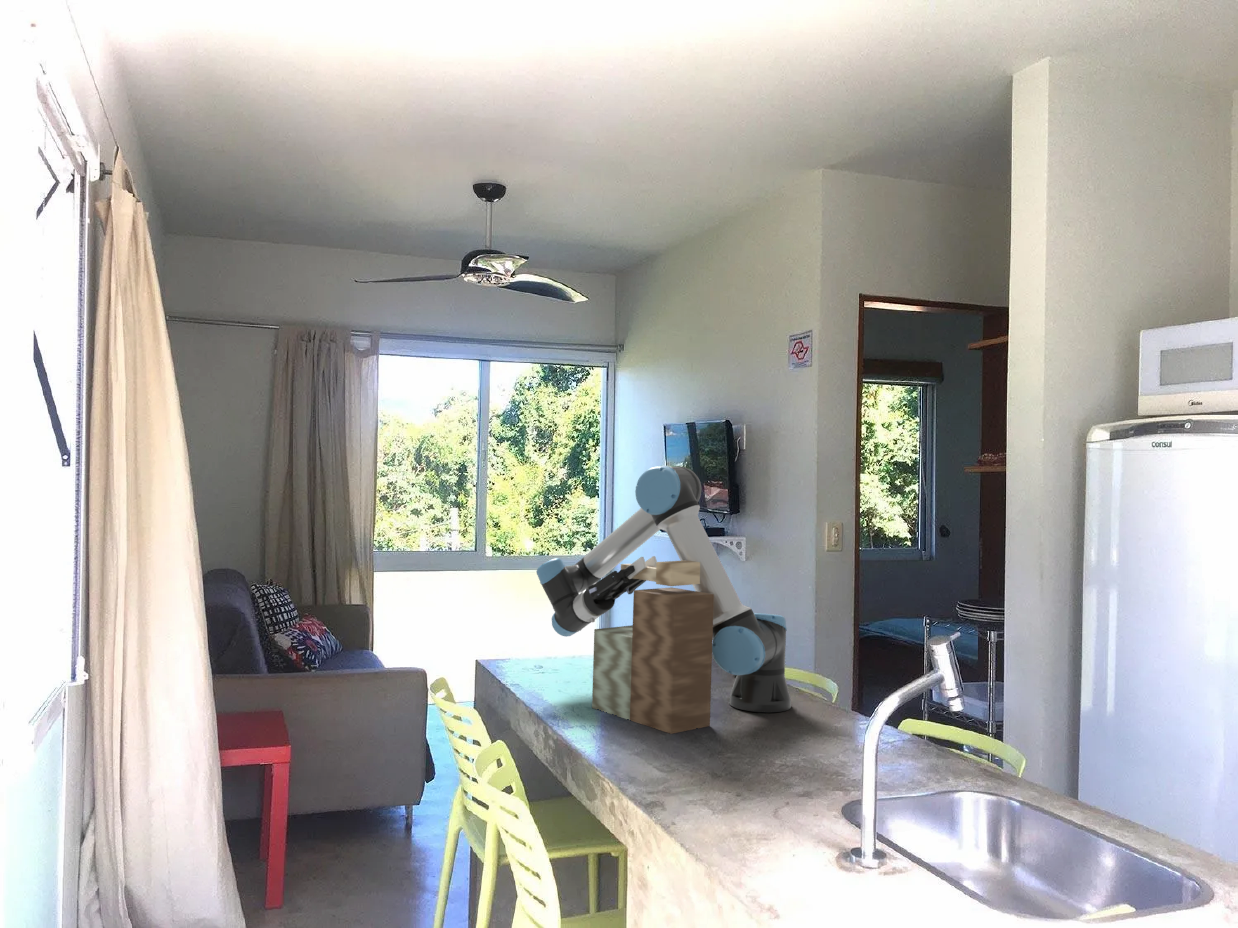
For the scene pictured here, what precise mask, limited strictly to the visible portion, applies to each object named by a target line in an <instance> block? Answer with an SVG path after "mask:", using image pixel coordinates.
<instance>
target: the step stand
mask: <svg viewBox="0 0 1238 928" xmlns="http://www.w3.org/2000/svg"><path fill="white" fill-rule="evenodd" d="M632 605H633V607H632V625H624V626H623V625H622V626H615V627H603V628H595V629H594V632H593V633H594V634H593V659H592V660H593V664H592V666H593V669H592V697H591V699H592V700H591V708H592V709H594V710H597V709H599V710H598V711H600V710H601V711H600V712H603V711H604V713H606V712H607V713H606V714H608V715H612V714H614V715H613V716H615V715H617V716H616V717H619V718H622V719H623V720H627V719H629V720H628V721H630V720H631V721H632V722H634V723H637V724H641V725H643V726H647V727H650V728H652V729H656V730H659V731H662V732H663V733H667V734H670V735H671V734H672V735H673V734H677V733H681V732H686V731H692V730H697V729H696V728H698V729H702V728H706V727H707V728H708V727H711V704H712V703H711V698H712V665H713V654H712V644H713V640H712V638H713V605H714V594H709V593H703V592H697V591H695V590H689V589H684V588H678V587H673V586H670V587H661V588H659V587H657V588H647V589H646V588H645V589H635V590H634V591H633V604H632ZM631 721H630V722H631Z"/></svg>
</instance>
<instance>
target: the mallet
mask: <svg viewBox="0 0 1238 928" xmlns="http://www.w3.org/2000/svg"><path fill="white" fill-rule="evenodd" d="M631 564H632V563H622V564H620V570H622V569H624V570H625V568H627V567H628V566H629V565H631ZM627 578H628V577H627ZM633 579H640V580H647V581H648V582H654V583H655V585H660V586H661V585H662V586H667V587H681V586H690V585H691V586H693V585H694V584H700V562H694V561H686V560H683V561H681V560H667V561H657V562H656V567H652V566H647V568H645V569H644V570H642V571H641V572H640V573H638V574H637V575H635V576H634V577H633ZM647 581H646V582H647Z"/></svg>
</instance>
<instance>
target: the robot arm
mask: <svg viewBox="0 0 1238 928" xmlns="http://www.w3.org/2000/svg"><path fill="white" fill-rule="evenodd" d="M634 492H635V500H636V502H637V505H638V506H639V507H640V508H639V509H638V510H637V511H635V512H634V514H632V515H631V516H630V517H628V519H626V520H625V521H624V522H623V523H622V524H620V525H619V526H618V527H617V528H616V529H615V530H614V531H611V533H610V534H609V535H608V536H606V538H604V539H603V540H602V541H601V542H599V543H597V545H596V546H595V547H594V548H593V549H591V550H590V551H589V552H587V553H586V554H585V555H584V556H583V557H582V558H581V559H580V560H578V561H577V562H576V563H575V564H573V565H567V566H566V564H565V563H564V561H563V560H562V559H561V558H560V557H555V558H552V559H550V560H547V561H545V562H544V563H542V564H541V565H539V566H538V568H536V570H535V571H536V575H537V578H538V579H539V580H538V581H539V583H540V585H541V587H542V588H543V591H544V592H545V595H546V596H547V599H548V600H549V602H550V604H551V606H552V609H553V611H554V613H552V617H551V626H552V628H553V630H554V631H555V632H556V633H557V634H558V635H560V636H561V637H571V636H573V635H575V634H577V633H579V632H581V631H582V630H583V629H584V628H586V627H587V626H588V625H590V624H591V623H595V622H596V620H597V619H598V618H600V617H601V616H602V615H604V614H606V613H607V612H608V611H610V610H611V609H612V608H613V607H614V605H615V601H616V599H618V598H620V597H621V596H622V595H623V594H625V593H627V594H628V595H632V594H634V590H637V589H638V588H639V587H641V586H642V585H643V584H644V583H646V582H647V580H640V579H633V577H634V576H635V575H637V574H638V573H640V572H641V571H642V570H644V569H645V568H647V566H652V567H656V562H658V561H657V558H656V556H655V555H653V556H651V557H650V558H648V559H647V560H645V558H644V556H640V557H638V558H637V559H636V560H635V561H633V562H632V563H630V564H631V565H629V566H628V567H627V568H625V570H624V569H622V570H621V569H620V570H619V571H617V570H614V571H612V570H613V569H614V568H615V567H617V566H618V565H619V564H620V563H622V562H623V561H624V560H625V559H626V558H628V557H629V556H630V555H631V554H633V552H635V551H636V550H637V549H639V548H640V547H641V546H643V544H645V543H646V542H647V541H648V540H649V539H651V538H652V537H653V536H654V535H655V534H657V533H658V532H659V531H660V530H662V531H664V532H666V534H667V536H668V538H669V539H670V541H671V544H672V546H673V547H674V551H675V552H676V554H677V556H678V558H679V561H683V560H686V561H694V562H700V584H694V585H692V586H693V589H694V591H697V592H703V593H709V594H714V605H713V638H712V658H713V660H714V661H715V663H716V664H717V666H719V668H720V669H722V670H723V671H724V672H726V673H728V674H730V675H733V676H736V677H735V679H734V682H733V685H732V688H731V691H730V693H729V705H730V706H731V707H733V708H735V709H738V710H743V711H746V712H755V713H780V712H786V711H789V710H791V707H792V698H791V694H790V690H789V687H788V684H787V680H786V676H785V670H786V647H787V646H786V639H787V629H788V628H787V620H786V618H785V616H783V615H780V614H772V613H763V612H761V613H760V612H754V611H753V610H752V607H749V606H746V605H744V604H743V603H742V602H741V600H740V597H739V595H738V593H737V591H736V590H735V588H734V586H733V585H734V584H733V583H732V582H731V579H730V577H729V576H728V573H727V572H726V569H725V568H724V566H723V564H722V561H721V559H720V558H719V556H718V554H717V552H716V550H715V548H714V546H713V544H712V542H711V540H710V537H709V536H708V534H707V532H706V530H705V528H704V526H703V523H702V522H701V520H700V518H699V512H700V509H701V507H700V504H699V501H700V498H701V495H702V483H701V481H700V479H699V476H698V475H697V474H696V473H695V472H694V471H693V470H691V469H689V468H687V467H684V466H669V465H657V466H654V467H653V466H652V467H650V468H648V469H646V470H645V471H643V473H642V474H641V475H640V476H639V478H638V480H637V482H636V485H635V491H634ZM611 571H612V572H611ZM610 572H611V573H610ZM607 574H608V575H607ZM627 577H628V578H627Z"/></svg>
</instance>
